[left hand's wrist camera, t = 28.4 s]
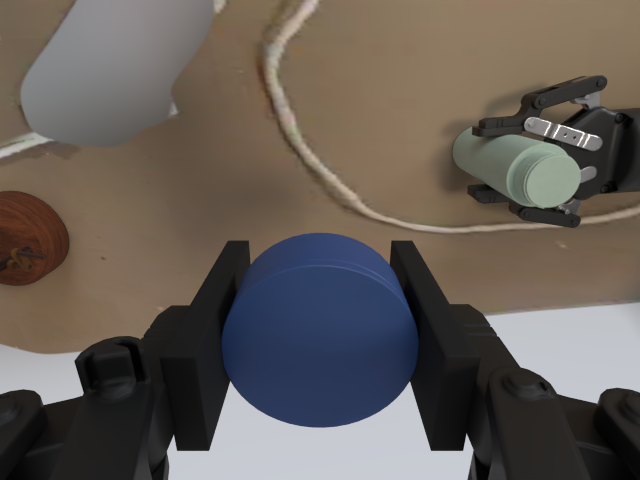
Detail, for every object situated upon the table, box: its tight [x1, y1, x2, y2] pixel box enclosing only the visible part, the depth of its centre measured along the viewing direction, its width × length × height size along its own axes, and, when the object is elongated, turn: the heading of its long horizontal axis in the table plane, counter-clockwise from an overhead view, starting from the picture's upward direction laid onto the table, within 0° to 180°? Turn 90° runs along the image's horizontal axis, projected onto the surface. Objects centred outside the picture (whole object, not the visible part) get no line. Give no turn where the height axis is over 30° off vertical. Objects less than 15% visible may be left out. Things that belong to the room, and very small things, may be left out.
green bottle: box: [452, 127, 581, 209], centre depth 35 cm, size 5×5×15 cm
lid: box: [221, 233, 419, 427], centre depth 11 cm, size 5×5×2 cm
